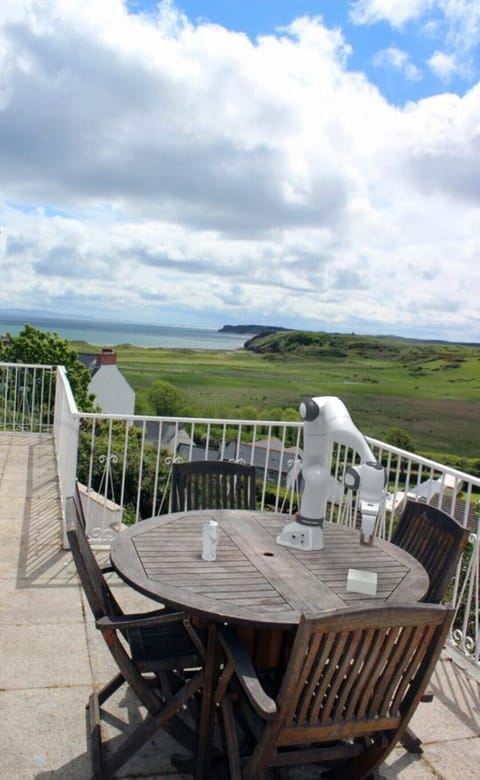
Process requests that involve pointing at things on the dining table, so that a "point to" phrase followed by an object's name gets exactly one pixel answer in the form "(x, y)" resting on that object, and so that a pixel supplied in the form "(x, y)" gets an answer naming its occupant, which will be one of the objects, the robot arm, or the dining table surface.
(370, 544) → the walnut cube
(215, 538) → the white cylinder
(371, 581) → the base block
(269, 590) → the dining table surface
